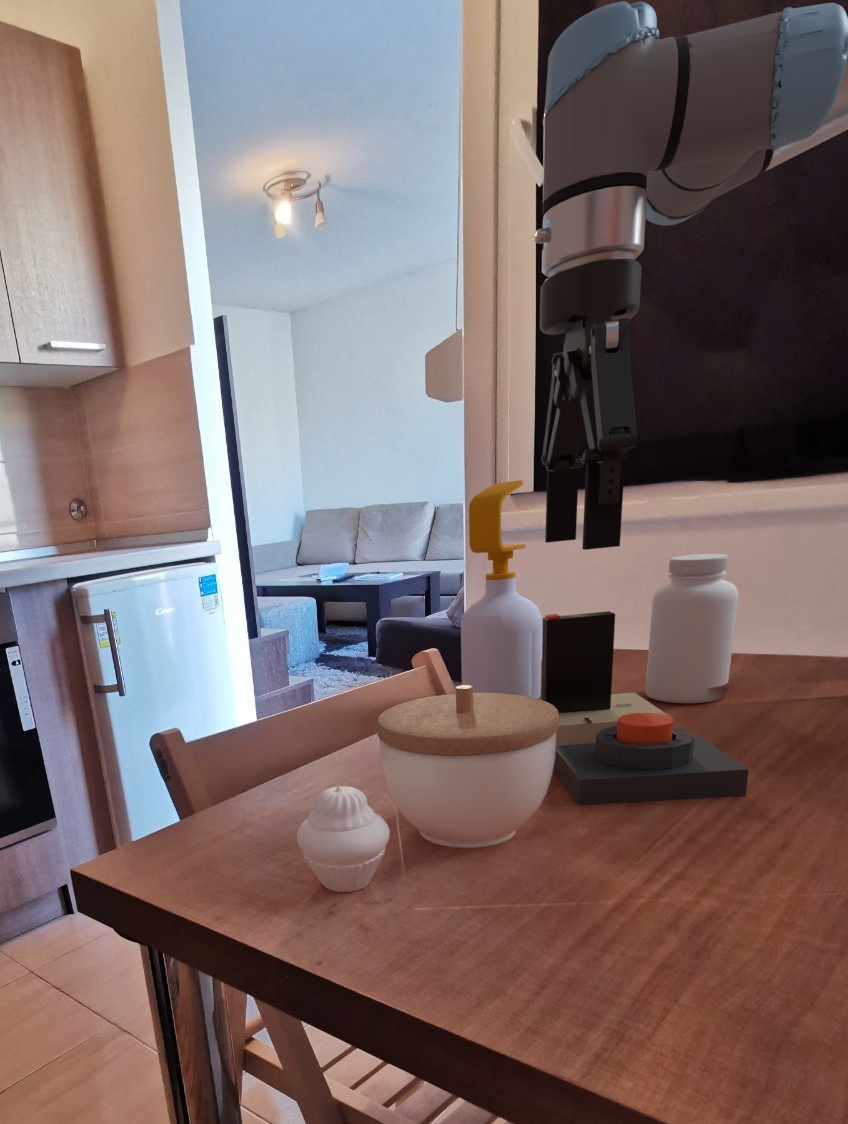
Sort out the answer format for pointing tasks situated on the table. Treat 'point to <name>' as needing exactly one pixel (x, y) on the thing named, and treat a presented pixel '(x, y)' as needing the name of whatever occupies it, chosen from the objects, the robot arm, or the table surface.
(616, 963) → the table surface
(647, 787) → the switch block
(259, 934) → the table surface
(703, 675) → the pill bottle
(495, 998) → the table surface
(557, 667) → the black rectangular block
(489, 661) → the soap bottle
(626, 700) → the plate
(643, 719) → the button
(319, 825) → the muffin
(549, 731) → the lidded bowl
